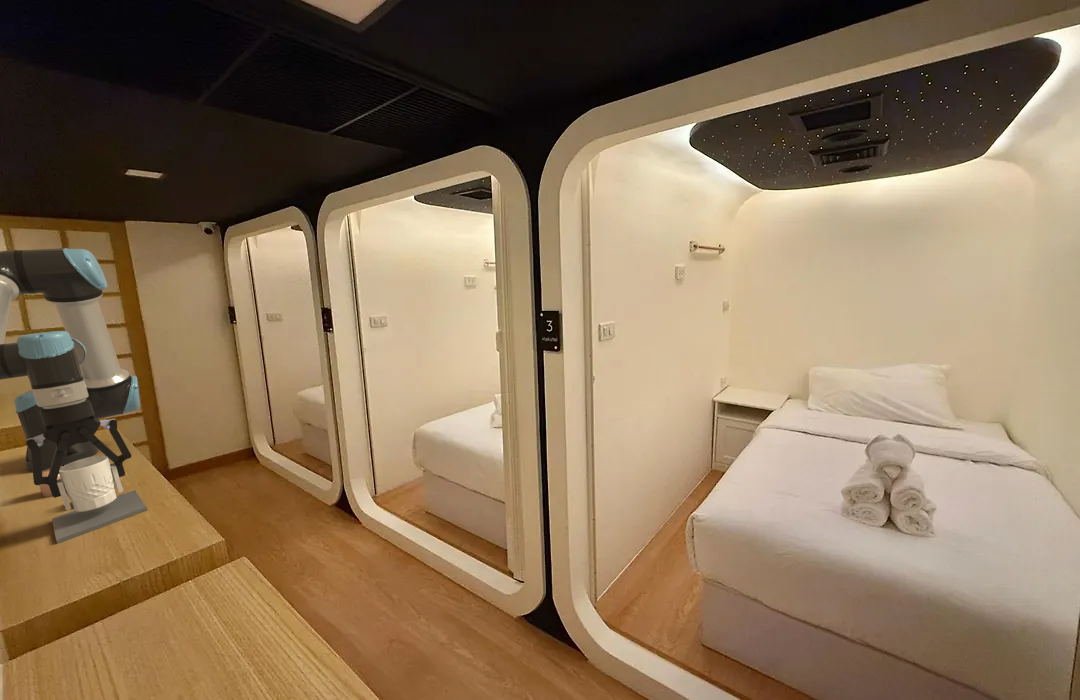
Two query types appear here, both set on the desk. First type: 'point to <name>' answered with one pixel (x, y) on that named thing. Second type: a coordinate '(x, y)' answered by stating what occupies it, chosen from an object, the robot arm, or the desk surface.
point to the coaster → (97, 516)
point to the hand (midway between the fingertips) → (95, 498)
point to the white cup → (89, 482)
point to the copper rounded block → (44, 487)
